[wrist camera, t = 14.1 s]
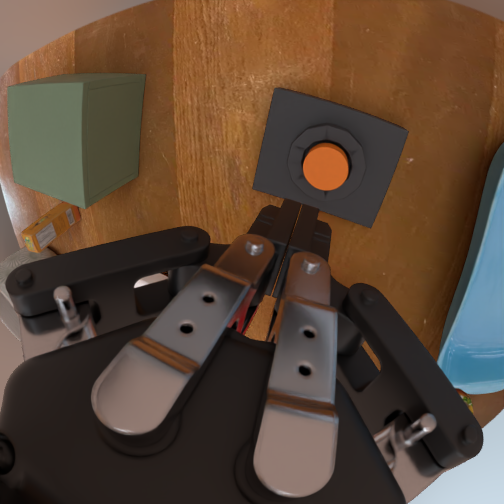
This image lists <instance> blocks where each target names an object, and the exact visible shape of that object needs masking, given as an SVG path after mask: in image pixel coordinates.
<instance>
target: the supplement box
mask: <svg viewBox="0 0 504 504" xmlns="http://www.w3.org/2000/svg"><path fill="white" fill-rule="evenodd" d="M80 219H81V217H80V213H79V210H78V206H75V205H72V204H70V203H67V202H64V201H63V202H62V203H60V204H59V205H57V206H56V207H54V208H53V209H52V210H50V211H49V212H47V213H46V214H45V215H43V216H42V217H40V218H39V219H38V220H36V221H35V222H34V223H32V224H31V225H30V226H29V227H27V228H26V229H25V230H24V231H22V232H21V235H22V237H23V240H24V242H25V245H26V247H27V249H28V251H32V252H35V253H40V252H41V251H43V250H44V249H45V248H46V247H47V246H48V245H50V244H51V243H52V242H53V241H54V240H55V239H57V238H58V237H59V236H60V235H62V234H63V233H64V232H65V231H66V230H68V229H69V228H70V227H71V226H73V225H74V224H75V223H76V222H78V221H79V220H80Z"/></svg>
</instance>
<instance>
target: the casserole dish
mask: <svg viewBox="0 0 504 504" xmlns="http://www.w3.org/2000/svg"><path fill="white" fill-rule="evenodd" d="M437 364H438V365H439V367H440V368H441V369H442V371H443V372H444V374H445V375H446V376H447V378H448V379H449V381H450V382H451V383H452V385H453V386H454V388H459V389H462V390H463V391H464V392H466V393H468V394H485V393H492V392H496V391H500V390H502V389H504V142H503V144H502V145H501V146H500V147H499V149H498V150H497V152H496V154H495V155H494V158H493V160H492V162H491V165H490V168H489V171H488V174H487V178H486V181H485V185H484V189H483V194H482V198H481V202H480V206H479V211H478V215H477V220H476V224H475V228H474V232H473V236H472V240H471V244H470V248H469V251H468V255H467V258H466V262H465V265H464V268H463V271H462V274H461V277H460V280H459V283H458V286H457V289H456V292H455V294H454V297H453V300H452V303H451V306H450V309H449V312H448V315H447V318H446V321H445V325H444V329H443V334H442V338H441V344H440V350H439V356H438V360H437Z"/></svg>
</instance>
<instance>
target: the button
mask: <svg viewBox="0 0 504 504" xmlns="http://www.w3.org/2000/svg"><path fill="white" fill-rule="evenodd" d="M303 172H304V175H305V178H306V179H307V181H308V182H309V183H310V184H311V185H312V186H314V187H315V188H318V189H320V190H333V189H336V188H338V187H340V186H341V185H342V184H343V183H344V182H345V180H346V178H347V176H348V159H347V156H346V154H345V153H344V151H343V150H342V149H341V148H339V147H338V146H336V145H334V144H331V143H321V144H318V145H315V146H314V147H312V148H311V149H310V151H309V152H308V154H307V156H306V158H305V160H304V163H303Z"/></svg>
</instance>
